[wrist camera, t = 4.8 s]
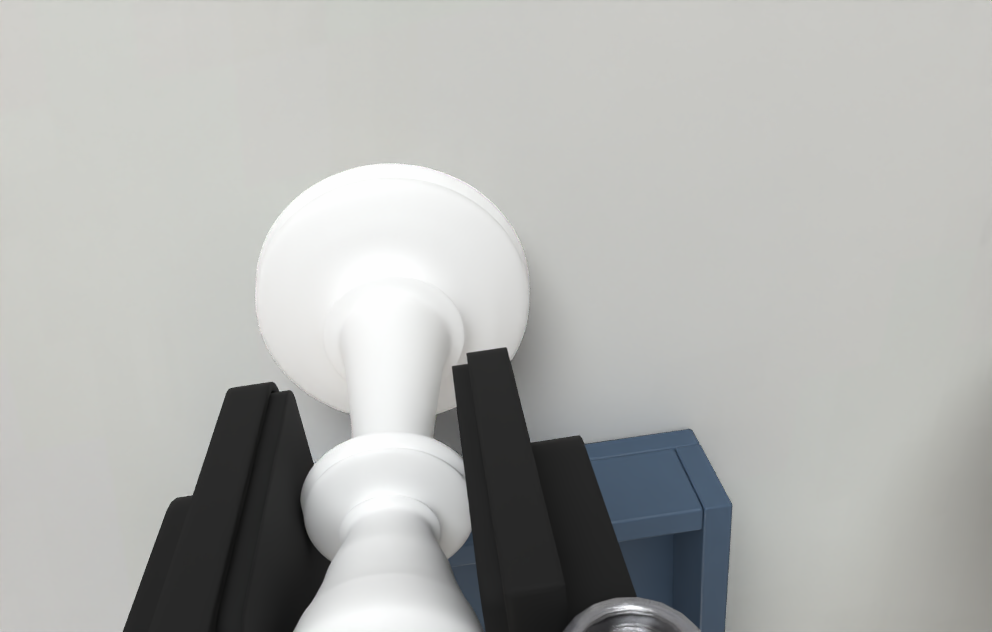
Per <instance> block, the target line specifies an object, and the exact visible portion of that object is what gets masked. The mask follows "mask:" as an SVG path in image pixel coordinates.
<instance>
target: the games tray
mask: <svg viewBox="0 0 992 632" xmlns="http://www.w3.org/2000/svg"><path fill="white" fill-rule="evenodd" d="M585 447H586V450H587V453H588V456H589V459H590V461H591V464H592V467H593V470H594V473H595V476H596V479H597V482H598V485H599V488H600V491H601V493H602V496H603V499H604V502H605V505H606V508H607V511H608V514H609V517H610V520H611V523H612V525H613V528H614V531H615V534H616V537H617V540H618V543H619V546H620V549H621V552H622V555H623V558H624V560H625V563H626V566H627V569H628V572H629V575H630V578H631V581H632V584H633V587H634V590H635V592H636V595H637V597H640V598H644V599H648V600H653V601H657V602H661V603H663V604H665V605H667V606H669V607H671V608H673V609H675V610H677V611H679V612H681V613H683V614H684V615H685V616H686V617H687V618H688V619H689V620H690V621H691V622H692V623H693V624H695V625H696V626H697V627H698V628H699V629H700V631H701V632H725V618H726V602H727V585H728V569H729V552H730V536H731V519H732V503H731V501H730V499H729V497H728V496H727V494H726V492H725V490H724V488H723V486H722V484H721V483H720V481H719V479H718V477H717V475H716V473H715V471H714V469H713V468H712V466H711V464H710V462H709V460H708V458H707V456H706V454H705V453H704V451H703V449H702V447H701V445H699V442H698V440H697V438H696V436H695V435H694V433H693V431H692V430H691V429H686V430H679V431H672V432H665V433H659V434H652V435H645V436H638V437H631V438H624V439H617V440H610V441H603V442H597V443H590V444H585ZM448 561H449V563H450V566H451V568H452V571H453V574H454V577H455V580H456V582H457V584H458V586H459V588H460V590H461V591H462V593H463V595H464V597H465V599H466V600H467V601H468V602H469V604H470V605H471V607H472V608H473V610H474V612H475V613H476V615H477V618H478V620H479V622H480V624H481V626H482V628H483V630H484V632H485V625H484V619H483V613H482V606H481V599H480V592H479V585H478V577H477V569H476V561H475V553H474V545H473V536H472V531H471V533H470V535H469V537H468V539H467V540H466V542H465V543H464V544H463V546H462V547H461V548H460V549H459V550H458V551H457V552H456V553H455V554H454V555H452V556H451V557H450V558H449V559H448Z"/></svg>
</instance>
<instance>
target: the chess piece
mask: <svg viewBox="0 0 992 632" xmlns="http://www.w3.org/2000/svg"><path fill="white" fill-rule="evenodd" d="M529 292H530V280H529V270H528V265H527V260H526V256H525V253H524V250H523V247H522V245H521V242H520V240H519V238H518V236H517V234H516V232H515V230H514V229H513V227H512V225H511V224H510V222H509V221H508V220H507V218H506V217H505V216H504V214H503V213H502V212H501V211H500V210H499V209H498V208H497V207H496V206H495V205H494V204H493V203H492V202H491V201H490V200H489V199H488V198H487V197H486V196H484V195H483V194H482V193H481V192H479V191H478V190H476V189H475V188H473V187H472V186H470V185H469V184H467V183H465V182H463V181H461V180H460V179H458V178H455V177H453V176H451V175H449V174H446V173H443V172H440V171H437V170H434V169H430V168H426V167H422V166H416V165H409V164H395V163H387V164H373V165H366V166H361V167H356V168H352V169H349V170H345V171H342V172H340V173H337V174H334V175H332V176H330V177H328V178H325V179H323V180H322V181H320V182H318V183H316V184H314V185H313V186H311V187H310V188H308V189H307V190H305V191H304V192H303V193H301V194H300V195H299V196H298V197H297V198H295V199H294V200H293V201H292V202H291V203H290V204H289V205H288V206H287V207H286V208H285V209H284V211H283V212H282V213H281V214H280V215H279V217H278V218H277V220H276V221H275V222H274V224H273V226H272V227H271V229H270V231H269V233H268V234H267V237H266V239H265V241H264V243H263V246H262V249H261V252H260V255H259V259H258V264H257V271H256V290H255V307H256V315H257V321H258V325H259V329H260V332H261V335H262V337H263V340H264V342H265V345H266V347H267V349H268V351H269V352H270V354H271V356H272V357H273V359H274V361H275V362H276V363H277V365H278V366H279V367H280V369H281V370H282V371H283V372H284V373H285V375H286V376H287V377H288V378H289V379H290V380H291V381H292V382H293V383H294V384H296V385H297V386H298V387H299V388H300V389H301V390H303V391H304V392H305V393H307V394H308V395H310V396H311V397H313V398H314V399H316V400H318V401H319V402H321V403H323V404H325V405H327V406H329V407H331V408H334V409H336V410H339V411H341V412H344V413H347V414H350V420H351V430H352V439H349V440H347V441H345V442H343V443H341V444H339V445H337V446H335V447H334V448H332V449H331V450H329V451H328V452H327V453H326V454H324V455H323V456H322V457H321V458H320V459H319V460H318V461H317V462H316V463H315V464H314V466H313V467H312V468H311V470H310V471H309V473H308V475H307V477H306V479H305V481H304V484H303V487H302V491H301V497H300V502H301V507H302V512H303V515H304V524H305V528H306V531H307V534H308V536H309V538H310V540H311V542H312V543H313V545H314V546H315V547H316V549H317V550H318V551H319V552H320V553H321V554H322V555H323V556H324V557H326V558H327V559H328V560H330V561H331V563H330V565H329V567H328V570H327V572H326V575H325V578H324V580H323V583H322V585H321V587H320V588H319V590H318V592H317V594H316V596H315V597H314V599H313V601H312V602H311V604H310V605H309V606H308V607H307V609H306V610H305V611H304V613H303V614H302V616H301V618H300V620H299V622H298V623H297V625H296V627H295V629H294V631H293V632H484V630H483V628H482V626H481V624H480V622H479V620H478V618H477V615H476V613H475V612H474V610H473V608H472V607H471V605H470V604H469V602H468V601H467V600H466V599H465V597H464V595H463V593H462V591H461V590H460V588H459V586H458V584H457V582H456V580H455V577H454V574H453V571H452V568H451V566H450V563H449V561H448V559H449V558H450V557H451V556H452V555H454V554H455V553H456V552H457V551H458V550H459V549H460V548H461V547H462V546H463V544H464V543H465V542H466V540H467V539H468V537H469V535H470V533H471V531H472V528H471V520H470V512H469V504H468V496H467V487H466V479H465V471H464V463H463V458H462V457H461V456H460V455H459V454H458V453H457V452H455V451H454V450H453V449H451V448H450V447H448V446H447V445H445V444H443V443H442V442H440V441H437V440H435V439H433V436H434V427H435V421H436V414H439V413H442V412H445V411H448V410H450V409H453V408H455V407H457V406H456V397H455V389H454V381H453V373H452V366H456V365H463V364H468V363H467V355H466V353H469V352H476V351H483V350H490V349H496V348H503V347H506V348H507V350H508V354H509V358H510V362H511V360H512V359H513V357H514V355H515V354H516V352H517V350H518V348H519V346H520V344H521V341H522V339H523V336H524V333H525V330H526V326H527V322H528V316H529V306H530V294H529Z"/></svg>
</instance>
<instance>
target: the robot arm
mask: <svg viewBox="0 0 992 632" xmlns="http://www.w3.org/2000/svg"><path fill="white" fill-rule="evenodd" d="M466 355H467V363H468V364H463V365H456V366H452V373H453V381H454V389H455V397H456V406H457V414H458V422H459V430H460V438H461V447H462V455H463V463H464V471H465V479H466V487H467V496H468V504H469V512H470V520H471V528H472V536H473V545H474V553H475V561H476V569H477V577H478V585H479V592H480V599H481V606H482V613H483V619H484V625H485V632H701V631H700V629H699V628H698V627H697V626H696V625H695V624H693V623H692V622H691V621H690V620H689V619H688V618H687V617H686V616H685V615H684V614H683V613H681V612H679V611H677V610H675V609H673V608H671V607H669V606H667V605H665V604H663V603H661V602H657V601H653V600H648V599H644V598H640V597H637V595H636V592H635V590H634V587H633V584H632V581H631V578H630V575H629V572H628V569H627V566H626V563H625V560H624V558H623V555H622V552H621V549H620V546H619V543H618V540H617V537H616V534H615V531H614V528H613V525H612V523H611V520H610V517H609V514H608V511H607V508H606V505H605V502H604V499H603V496H602V493H601V491H600V488H599V485H598V482H597V479H596V476H595V473H594V470H593V467H592V464H591V461H590V459H589V456H588V453H587V450H586V447H585V444H584V442H583V440H582V438H581V437H580V436H572V437H566V438H559V439H553V440H546V441H540V442H533V443H530V439H529V435H528V431H527V427H526V423H525V419H524V415H523V411H522V407H521V403H520V399H519V395H518V391H517V387H516V383H515V378H514V374H513V370H512V366H511V362H510V358H509V354H508V350H507V348H506V347H503V348H496V349H490V350H483V351H476V352H469V353H466ZM313 466H314V464H313V460H312V456H311V453H310V449H309V446H308V442H307V439H306V435H305V432H304V428H303V424H302V421H301V417H300V414H299V410H298V407H297V403H296V400H295V397H294V394H293V393H292V391H290V390H288V391H282V392H279V390H278V388H277V386H276V384H275V383H274V382H268V383H261V384H254V385H247V386H241V387H234V388H230V389H228V391H227V393H226V396H225V399H224V402H223V405H222V408H221V411H220V414H219V417H218V420H217V423H216V426H215V429H214V432H213V435H212V438H211V442H210V445H209V448H208V451H207V454H206V457H205V460H204V463H203V466H202V469H201V472H200V475H199V478H198V481H197V484H196V487H195V490H194V493H193V495H192V496H186V497H179V498H176V499H175V500H174V501H172V502H171V504H170V505H169V507H168V509H167V511H166V514H165V517H164V519H163V522H162V525H161V528H160V530H159V533H158V536H157V539H156V541H155V544H154V547H153V550H152V553H151V555H150V558H149V561H148V564H147V566H146V569H145V572H144V575H143V577H142V580H141V583H140V586H139V589H138V591H137V594H136V597H135V600H134V602H133V605H132V608H131V611H130V613H129V616H128V619H127V622H126V624H125V627H124V630H123V632H293V631H294V629H295V627H296V625H297V623H298V622H299V620H300V618H301V616H302V614H303V613H304V611H305V610H306V609H307V607H308V606H309V605H310V604H311V602H312V601H313V599H314V597H315V596H316V594H317V592H318V590H319V588H320V587H321V585H322V583H323V580H324V578H325V575H326V572H327V570H328V567H329V565H330V563H331V561H330V560H328V559H327V558H326V557H324V556H323V555H322V554H321V553H320V552H319V551H318V550H317V549H316V547H315V546H314V545H313V543H312V542H311V540H310V538H309V536H308V534H307V531H306V528H305V524H304V515H303V512H302V507H301V502H300V497H301V491H302V487H303V484H304V481H305V479H306V477H307V475H308V473H309V471H310V470H311V468H312V467H313Z"/></svg>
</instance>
